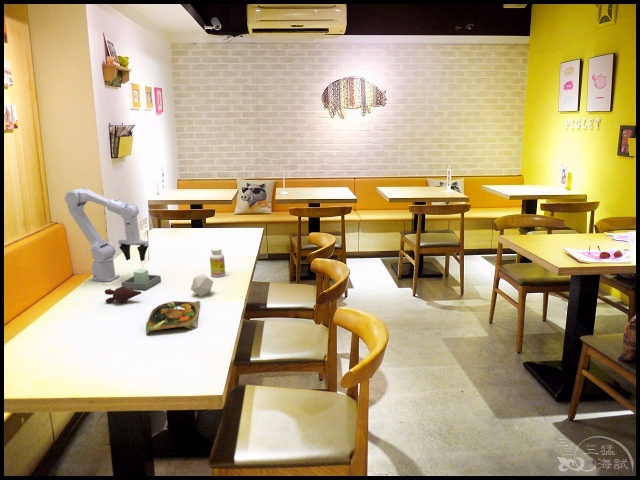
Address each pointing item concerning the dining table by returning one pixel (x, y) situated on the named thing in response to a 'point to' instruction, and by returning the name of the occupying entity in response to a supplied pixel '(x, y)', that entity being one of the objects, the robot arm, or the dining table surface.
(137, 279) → the mint block
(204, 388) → the dining table surface
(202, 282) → the die
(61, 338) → the dining table surface
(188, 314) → the prepared meal
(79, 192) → the robot arm
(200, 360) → the dining table surface
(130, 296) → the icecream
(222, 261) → the supplement bottle
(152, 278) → the gray tray
